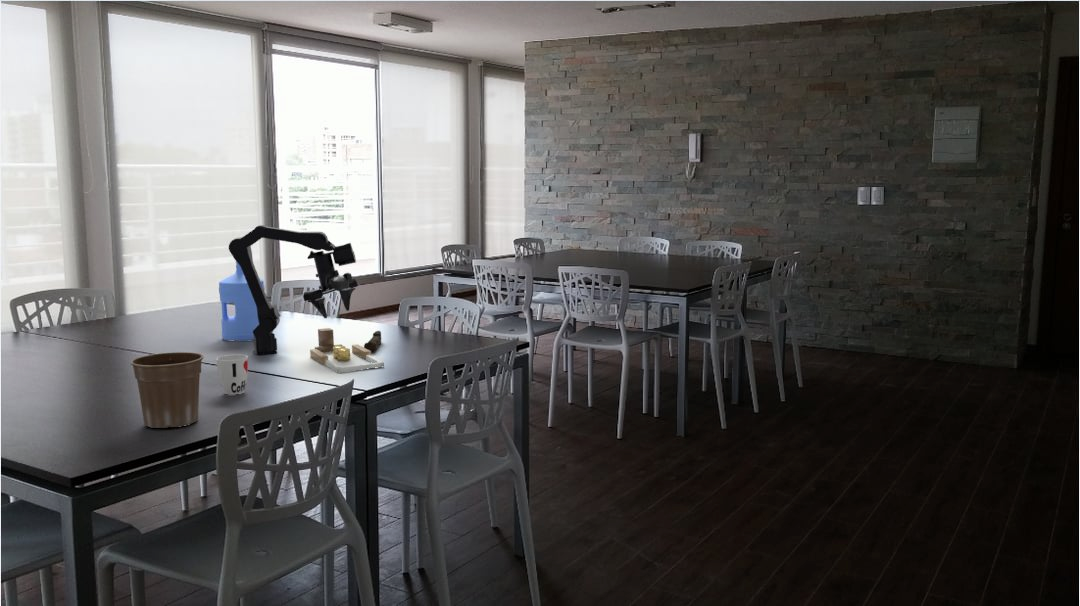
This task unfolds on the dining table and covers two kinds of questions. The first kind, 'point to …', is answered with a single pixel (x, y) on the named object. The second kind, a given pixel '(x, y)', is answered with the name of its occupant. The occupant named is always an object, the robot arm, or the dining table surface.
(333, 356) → the puck
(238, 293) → the water jug
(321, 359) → the wooden blocks
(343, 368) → the white tray
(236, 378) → the cup
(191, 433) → the dining table surface
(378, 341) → the hand tool
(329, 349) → the brown t-shaped block
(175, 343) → the dining table surface
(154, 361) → the plant pot
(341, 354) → the puck
